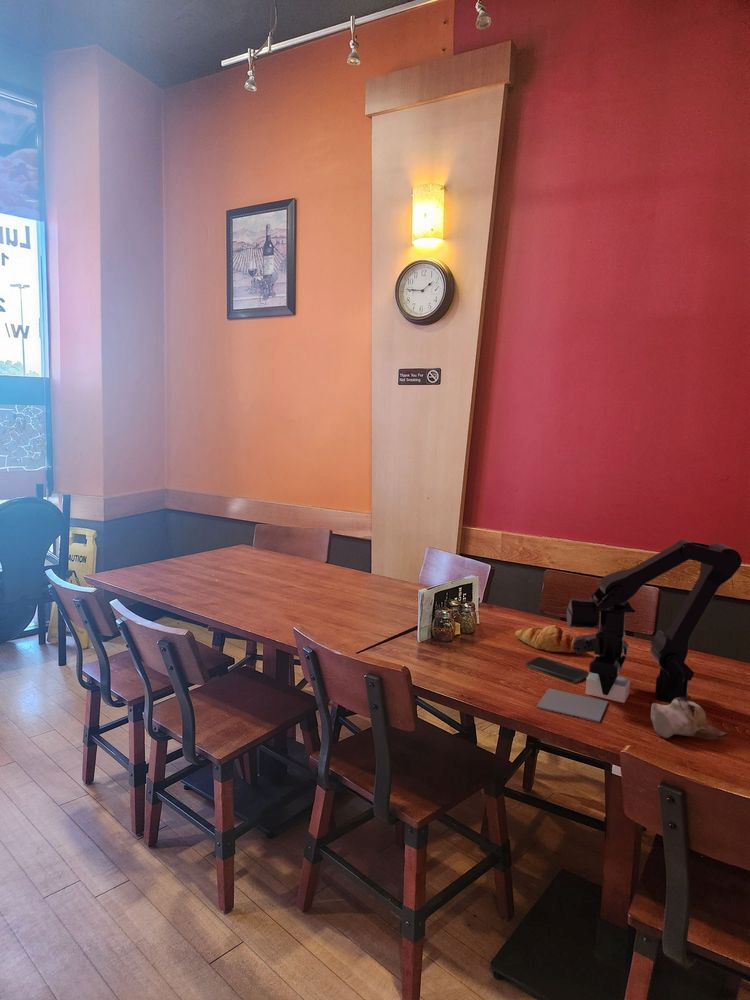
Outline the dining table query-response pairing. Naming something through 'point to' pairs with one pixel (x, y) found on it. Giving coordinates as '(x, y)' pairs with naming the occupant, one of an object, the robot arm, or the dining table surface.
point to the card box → (616, 693)
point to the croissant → (547, 638)
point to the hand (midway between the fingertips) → (607, 690)
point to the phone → (557, 669)
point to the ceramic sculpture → (683, 720)
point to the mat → (573, 705)
